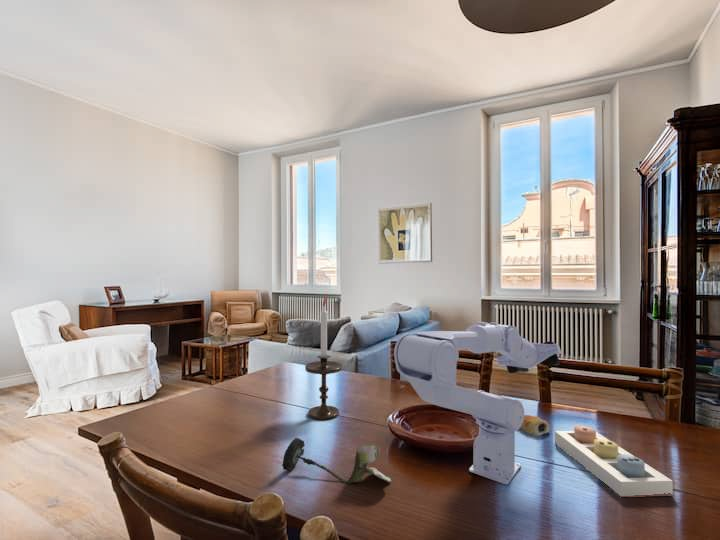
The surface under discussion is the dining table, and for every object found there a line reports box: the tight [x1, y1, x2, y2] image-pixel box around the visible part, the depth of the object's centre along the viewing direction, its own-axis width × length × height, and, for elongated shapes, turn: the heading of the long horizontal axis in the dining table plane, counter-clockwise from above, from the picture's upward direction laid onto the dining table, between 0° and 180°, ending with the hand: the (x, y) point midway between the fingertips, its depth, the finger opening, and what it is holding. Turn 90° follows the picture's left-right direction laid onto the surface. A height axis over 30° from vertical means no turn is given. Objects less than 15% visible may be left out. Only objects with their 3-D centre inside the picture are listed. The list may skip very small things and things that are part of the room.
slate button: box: [617, 454, 645, 478], centre depth 73 cm, size 4×4×3 cm
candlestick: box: [305, 296, 343, 421], centre depth 110 cm, size 11×11×35 cm
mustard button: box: [594, 439, 619, 459], centre depth 80 cm, size 4×4×3 cm
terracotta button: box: [573, 425, 597, 444], centre depth 87 cm, size 4×4×3 cm
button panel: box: [554, 430, 674, 496], centre depth 80 cm, size 22×10×3 cm, turn 2°
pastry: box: [518, 414, 551, 437], centre depth 100 cm, size 9×7×4 cm
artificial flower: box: [281, 437, 392, 484], centre depth 77 cm, size 9×22×10 cm, turn 68°
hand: (541, 364), depth 94 cm, fingers open, 7 cm apart
